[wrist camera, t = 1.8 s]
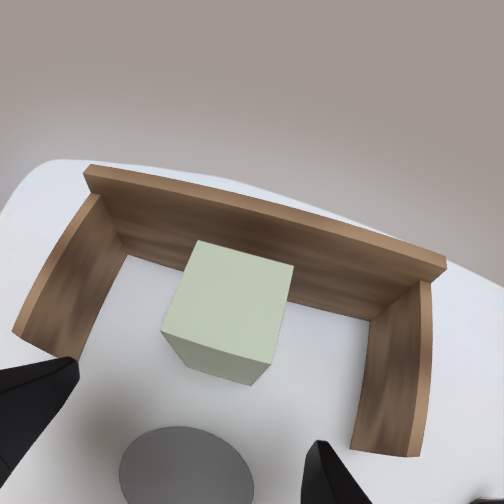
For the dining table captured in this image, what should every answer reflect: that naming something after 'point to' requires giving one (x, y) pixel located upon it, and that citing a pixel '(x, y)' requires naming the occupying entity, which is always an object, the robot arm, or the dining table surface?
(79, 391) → the dining table surface
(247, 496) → the grey mat
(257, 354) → the block
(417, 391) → the open box
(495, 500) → the battery charger
